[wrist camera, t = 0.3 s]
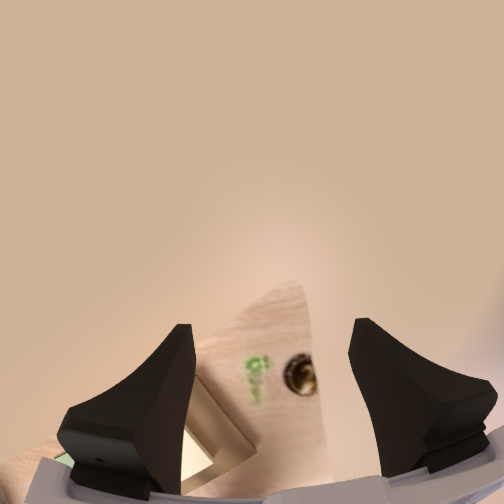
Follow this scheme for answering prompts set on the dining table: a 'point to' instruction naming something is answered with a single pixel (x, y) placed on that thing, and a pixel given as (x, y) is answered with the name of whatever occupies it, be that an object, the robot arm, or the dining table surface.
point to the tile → (193, 455)
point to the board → (213, 437)
